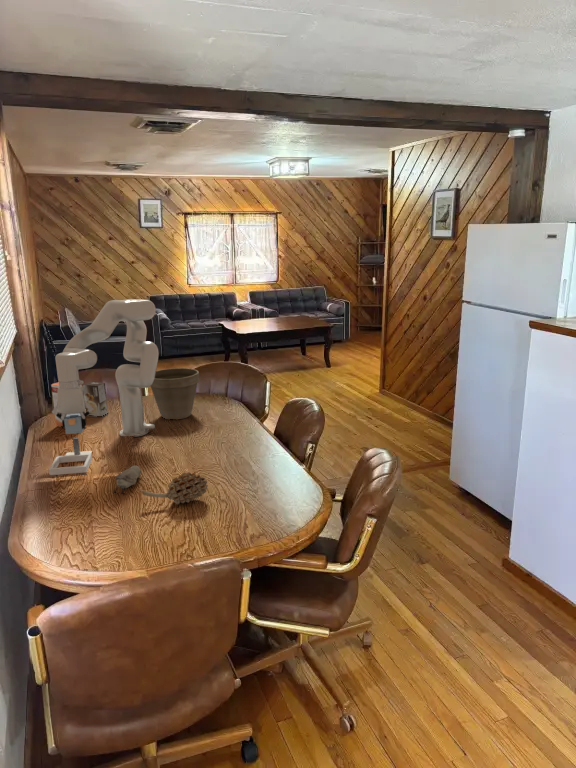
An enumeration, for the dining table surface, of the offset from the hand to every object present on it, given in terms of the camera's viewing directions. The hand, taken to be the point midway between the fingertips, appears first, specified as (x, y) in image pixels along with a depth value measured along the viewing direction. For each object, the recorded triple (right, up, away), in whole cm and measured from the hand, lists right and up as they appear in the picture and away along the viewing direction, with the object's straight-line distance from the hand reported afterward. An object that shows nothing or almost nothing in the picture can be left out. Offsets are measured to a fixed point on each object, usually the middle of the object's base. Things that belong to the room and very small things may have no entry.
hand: (75, 427), depth 223 cm
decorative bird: (+28, -19, -24) cm, 42 cm away
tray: (+2, -15, -8) cm, 18 cm away
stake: (0, -12, +3) cm, 13 cm away
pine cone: (+47, -22, -37) cm, 64 cm away
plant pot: (+29, +2, +56) cm, 63 cm away
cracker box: (-17, -3, +41) cm, 45 cm away
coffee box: (-11, +2, +60) cm, 61 cm away
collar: (0, -1, 0) cm, 1 cm away
